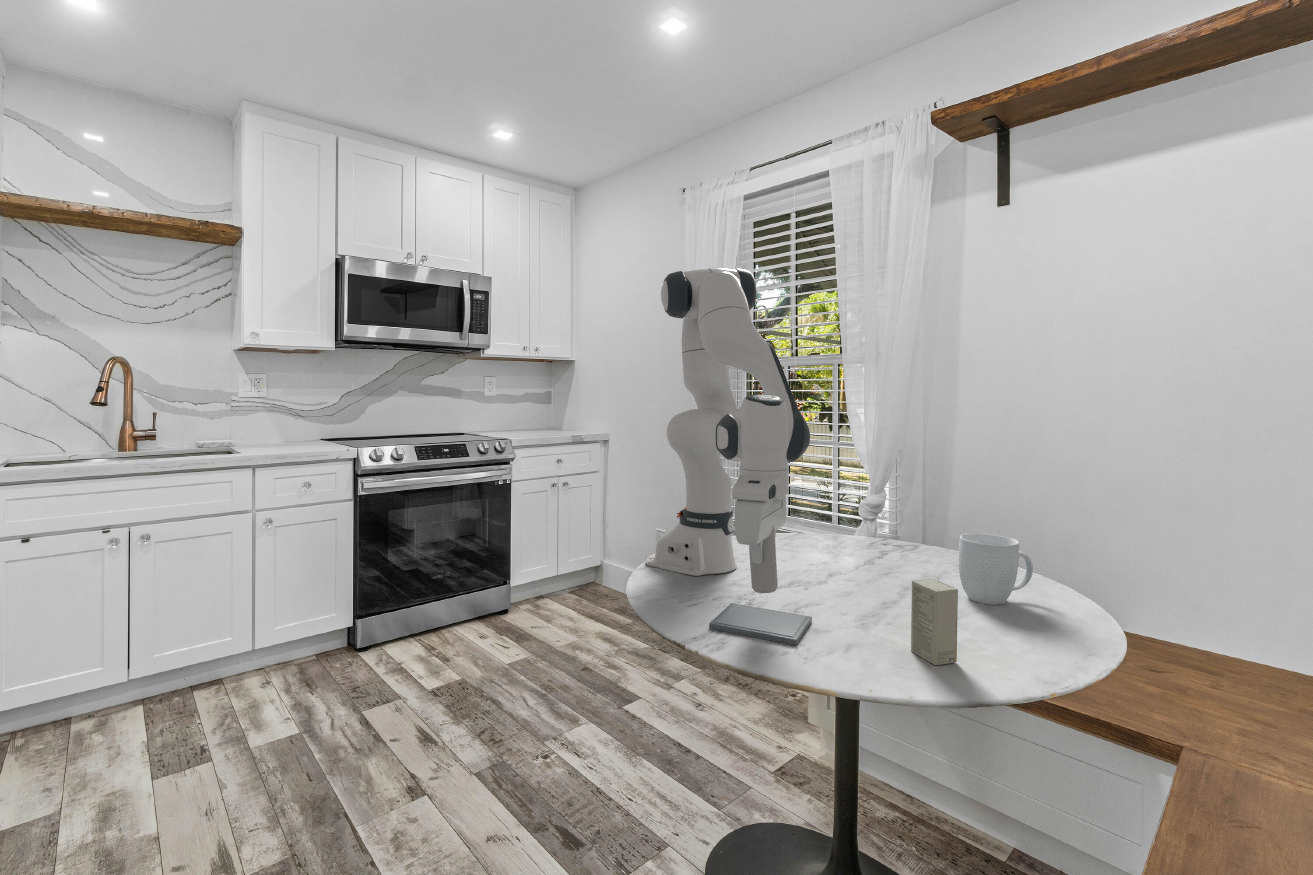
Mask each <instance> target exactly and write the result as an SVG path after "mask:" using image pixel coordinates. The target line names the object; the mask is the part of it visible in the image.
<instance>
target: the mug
mask: <svg viewBox="0 0 1313 875" xmlns="http://www.w3.org/2000/svg"><path fill="white" fill-rule="evenodd" d="M958 544H959V546H958V574H959V580H960V583H961V586H962V589H963V591H964V592H965V594H966V597H968V599H970V600H971V601H972V602H975V603H978V604H981V605H989V606H991V605H992V606H1000V605H1003V604H1005V602H1006V601H1007V600H1008V599H1009V597H1010V596H1011V595H1012V594H1011V593H1012V592H1013V591H1017V590H1021V589H1023V588H1025V586H1027V585H1028V584H1029V582H1030V580H1031V579H1032V576H1033V574H1034V564H1033V561H1032V559H1031V557H1030V556H1029V555H1028V554H1027V553H1025V552H1023V551H1022V550H1020V542H1019V540H1017V539H1015V538H1013V537H1009V536H1005V535H999V534H992V533H985V532H981V533H980V532H971V533H969V532H968V533H963V534H961V535H959V542H958ZM1020 557H1022V558H1023V559H1024V562H1025V566H1026V567H1025V572H1024V576H1023V577H1022V579H1021V580H1020V581H1019V582H1018V583H1016V581H1017V576H1018V571H1019V564H1020V563H1019V562H1020V560H1019V559H1020Z"/></svg>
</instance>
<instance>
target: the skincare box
mask: <svg viewBox="0 0 1313 875" xmlns="http://www.w3.org/2000/svg"><path fill="white" fill-rule="evenodd" d="M958 598H959V589H958V588H957V587H954V586H953V585H949V584H946V583H945V582H942V581H939V580H937V579H934V578H927V579H916V580H911V613H910V615H911V623H910V626H911V627H910V628H911V629H910V633H911V634H910V651H911V652H913V654H915V655H917V656H918V657H920V658H922V659H924V660H925V661H927V662H929V663H930V664H932V665H934V666H939V665H941V666H942V665H948V664H949V665H950V664H954V663H957V660H958V614H959V613H958V607H959V605H958V604H959V599H958Z"/></svg>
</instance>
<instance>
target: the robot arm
mask: <svg viewBox="0 0 1313 875" xmlns="http://www.w3.org/2000/svg"><path fill="white" fill-rule="evenodd" d="M661 286H662V287H661V289H660V298H661V300H660V301H661V303H662V304H661V305H662V306H663V309H664V311H665V313H666V314H667V315H668V316H669V317H671V318H675V319H683V322H682V329H681V358H682V370H683V371H682V374H683V383H684V386H685V389H687V391H688V392H690V394H691V395H692V397H693V398H694V401H695V403H696V407H697V408H695V409H694V408H693V409H692V408H691V409H688V410H684V411H682V412H679V413H677V414H675V415H674V416H673V417H672V418H671V419H670V420H669V422H668V424H667V427H666V437H667V442H668V444H669V445H670V447H671V448H672V450H673V451H675V453H676V454H677V455H678V458H679V460H680V461H681V464H682V467H683V470H684V475H685V492H686V494H685V495H686V499H685V501H686V502H685V503H686V507H684V508H683V509H682V510H679V512H677V513H676V518H677V519H679V522H678V523H677V524H675V525H674V526H673V527H672V528H670V529H669V530H668V531H667V532H665V533H664V534H663V535H661V536H660V537H659V538H658V540H657V543H656V546H655V547H656V548H655V552H654V553H652V554H650V555H649V556H648V557H647V558H646V562H648V563H647V564H646V565H647V566H649V567H654V568H658V569H663V570H667V571H670V572H676V573H680V574H684V575H689V576H695V577H696V576H703V575H715V574H725V573H729V572H732V571H734V570H735V569H737V567H738V564H737V562H736V558H735V552H734V546H733V535H732V534H733V529H734V531H735V538H736V541H737V542H738V543H737V544H739V545H745V546H748V547H749V546H750V549H751V553H752V562H753V563H756V564H761V563H762V562H763V561H764V553H763V551H762V545H763V540H764V539H766V538H767V537H768V536H770V534H771V531H772V529H773V528H774V529H775V538H776V536H777V531H778V530H780V529H781V528H782V527H784V526H785V525H786V521H787V495H788V494H789V463H794V462H796V461H797V460H799V458H801V457H802V456H803V455H804V454H805V452H806V451H807V449H808V448H809V446H810V441H811V433H810V428H809V426H808V423H807V421H806V418H804V416H803V414H802V412H801V410H800V409H799V407H798V405H797V402H796V400H795V397H794V395H793V392H792V390H791V387H790V384H789V382H788V379H787V377H786V374H785V372H784V369H783V366H782V363H781V362H780V358H779V357H778V354H777V353H776V350H775V348H774V347H773V346H772V344H771V343H769V341H767V340H765V338H763V336H762V335H761V334H760V332H758V330H757V328H756V326H755V324H754V323H753V320H752V316H751V315H752V314H751V310H752V309H753V308H754V306H755V304H756V299H757V296H758V295H757V293H758V291H757V290H758V289H757V283H756V279H755V277H754V275H753V273H751V271H750V270H747V269H742V268H737V267H736V268H734V269H732V268H731V269H730V268H719V267H718V268H717V267H716V268H714V267H713V268H704V269H695V270H685V271H682V270H678V271H674V272H671V273H668V274H667V275H666V277H665V278H663V283H662V285H661ZM729 367H733V368H735V369H738V370H741V371H743V372H745V373H747V374H749V375H751V376H752V377H753V378H755V379H756V380H757V381H758V383H759V385H760V386H761V388H762V391H763V394H750V395H748V396H745V397H744V398H743V399H742V402H741V406H740V407H739V406H738V403H737V401H736V398H735V395H734V392H733V389H732V384H731V379H730V369H729ZM721 456H722V457H723V458H724V459H725V460H728V461H729V460H730V461H732V462H740V464H739V467H738V468H739V473H738V474H739V475H738V478H737V480H736V482H735V483H734V485H733V487H732V479H731V476H730V475H729V474H728V473H727V472H726V471H725V468H724V466H723V463H722V459H721ZM732 499H733V500H736V501H735V503H734V511H733V509H732ZM733 512H734V513H733ZM772 526H774V527H773V528H772ZM652 559H653V560H652ZM646 562H645V563H646Z"/></svg>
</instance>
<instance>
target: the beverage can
mask: <svg viewBox="0 0 1313 875" xmlns="http://www.w3.org/2000/svg"><path fill="white" fill-rule="evenodd" d="M773 527H774V526H772V528H773ZM748 550H749V551H748V552H749V566H750V581H751V582H750V583H751V589H752V591H754V592H755V593H756V594H757V593H758V594H772V593H775V592H776V591H777V589H778V569H777V566H778V565H777V554H776V553H777V548H776V537H775V529H774V528H773V529H772V531H771V534H770V536H768V537H767V538H766V539H764V540H763V545H762V551H763V553H764V561H763V562H762V563H761V564H756V563H753V562H752V553H751V549H750V546H749V545H748Z"/></svg>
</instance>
